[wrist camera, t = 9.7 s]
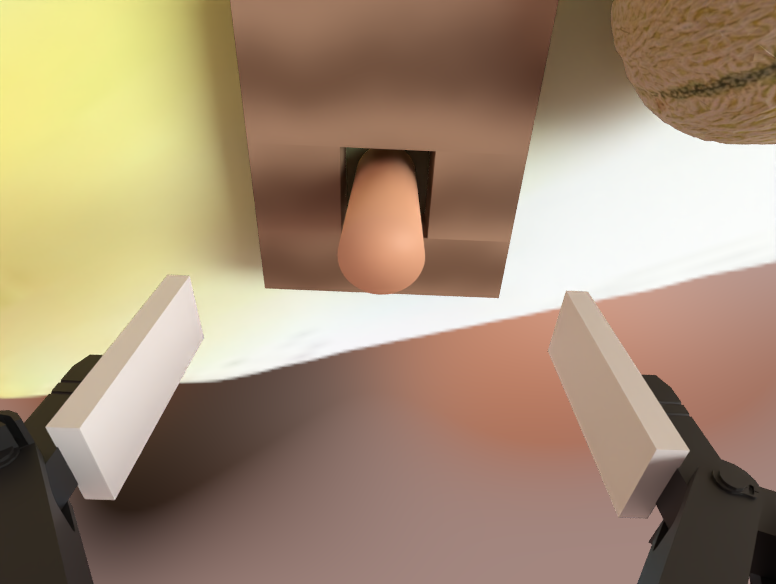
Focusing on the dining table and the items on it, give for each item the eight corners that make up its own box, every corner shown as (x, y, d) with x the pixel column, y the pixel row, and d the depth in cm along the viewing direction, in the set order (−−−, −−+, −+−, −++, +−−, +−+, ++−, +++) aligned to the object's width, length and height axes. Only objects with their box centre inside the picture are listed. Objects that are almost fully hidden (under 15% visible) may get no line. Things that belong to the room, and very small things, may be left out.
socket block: (248, -30, 25) (225, -35, 22) (540, -16, 25) (562, -19, 22) (277, 260, 35) (265, 288, 31) (488, 269, 35) (498, 297, 31)
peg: (356, 143, 30) (336, 214, 20) (417, 145, 30) (428, 218, 20) (356, 201, 32) (338, 292, 22) (413, 203, 32) (421, 296, 22)
